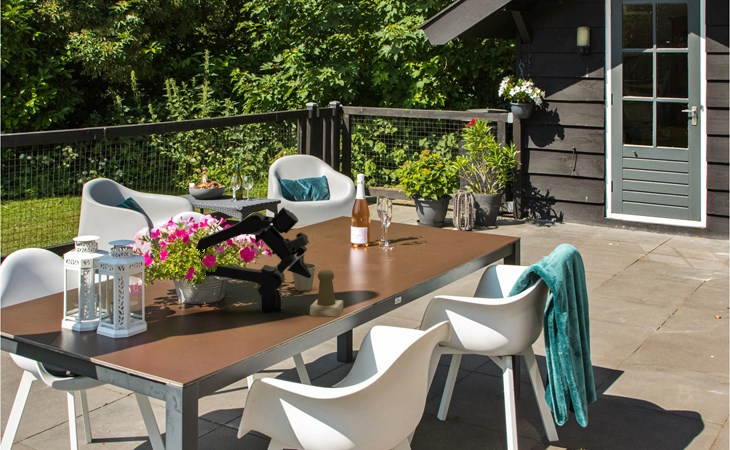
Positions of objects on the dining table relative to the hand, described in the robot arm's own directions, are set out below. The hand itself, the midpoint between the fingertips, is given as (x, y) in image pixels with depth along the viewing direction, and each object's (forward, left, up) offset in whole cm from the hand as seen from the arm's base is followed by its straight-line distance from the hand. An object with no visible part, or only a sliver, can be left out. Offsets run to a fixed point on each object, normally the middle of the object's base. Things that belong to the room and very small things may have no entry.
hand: (310, 277), depth 311 cm
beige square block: (+4, -3, -12) cm, 13 cm away
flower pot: (+8, +29, -12) cm, 32 cm away
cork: (+4, -3, -9) cm, 10 cm away
